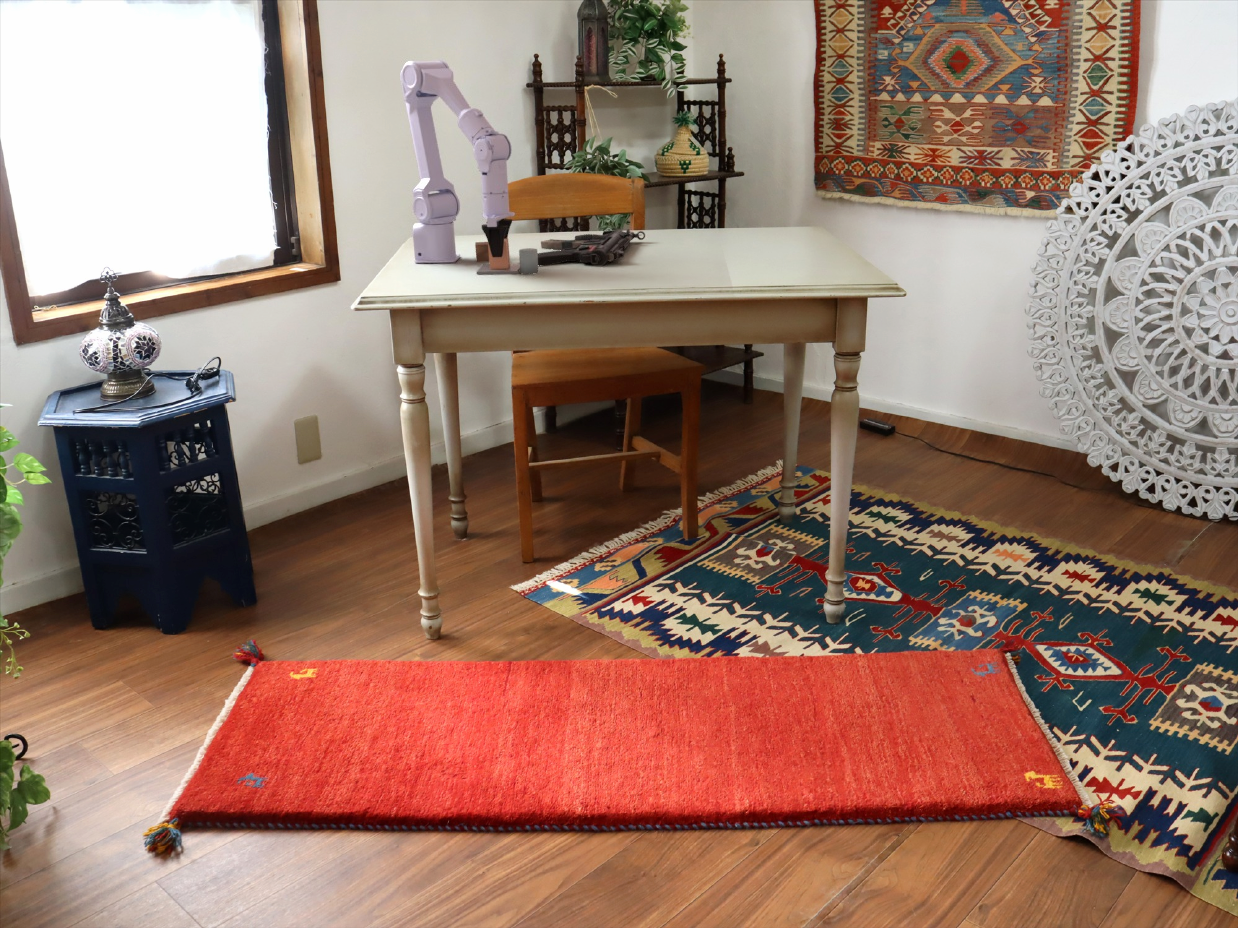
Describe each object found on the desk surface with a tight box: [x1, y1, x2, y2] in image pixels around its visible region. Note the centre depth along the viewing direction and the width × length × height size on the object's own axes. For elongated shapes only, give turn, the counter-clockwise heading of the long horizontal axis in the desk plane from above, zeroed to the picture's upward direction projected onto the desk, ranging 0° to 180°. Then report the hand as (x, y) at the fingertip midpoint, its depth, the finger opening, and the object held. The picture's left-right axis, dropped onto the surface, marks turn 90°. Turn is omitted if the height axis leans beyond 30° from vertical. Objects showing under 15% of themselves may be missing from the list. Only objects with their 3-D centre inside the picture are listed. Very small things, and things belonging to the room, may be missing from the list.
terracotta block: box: [488, 238, 511, 269], centre depth 236 cm, size 4×4×6 cm
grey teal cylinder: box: [518, 247, 539, 275], centre depth 234 cm, size 4×4×5 cm
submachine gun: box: [537, 228, 646, 267], centre depth 254 cm, size 33×4×25 cm
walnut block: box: [474, 241, 489, 263], centre depth 249 cm, size 5×4×4 cm
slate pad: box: [476, 262, 520, 275], centre depth 237 cm, size 9×9×1 cm
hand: (499, 255), depth 236 cm, fingers open, 4 cm apart
